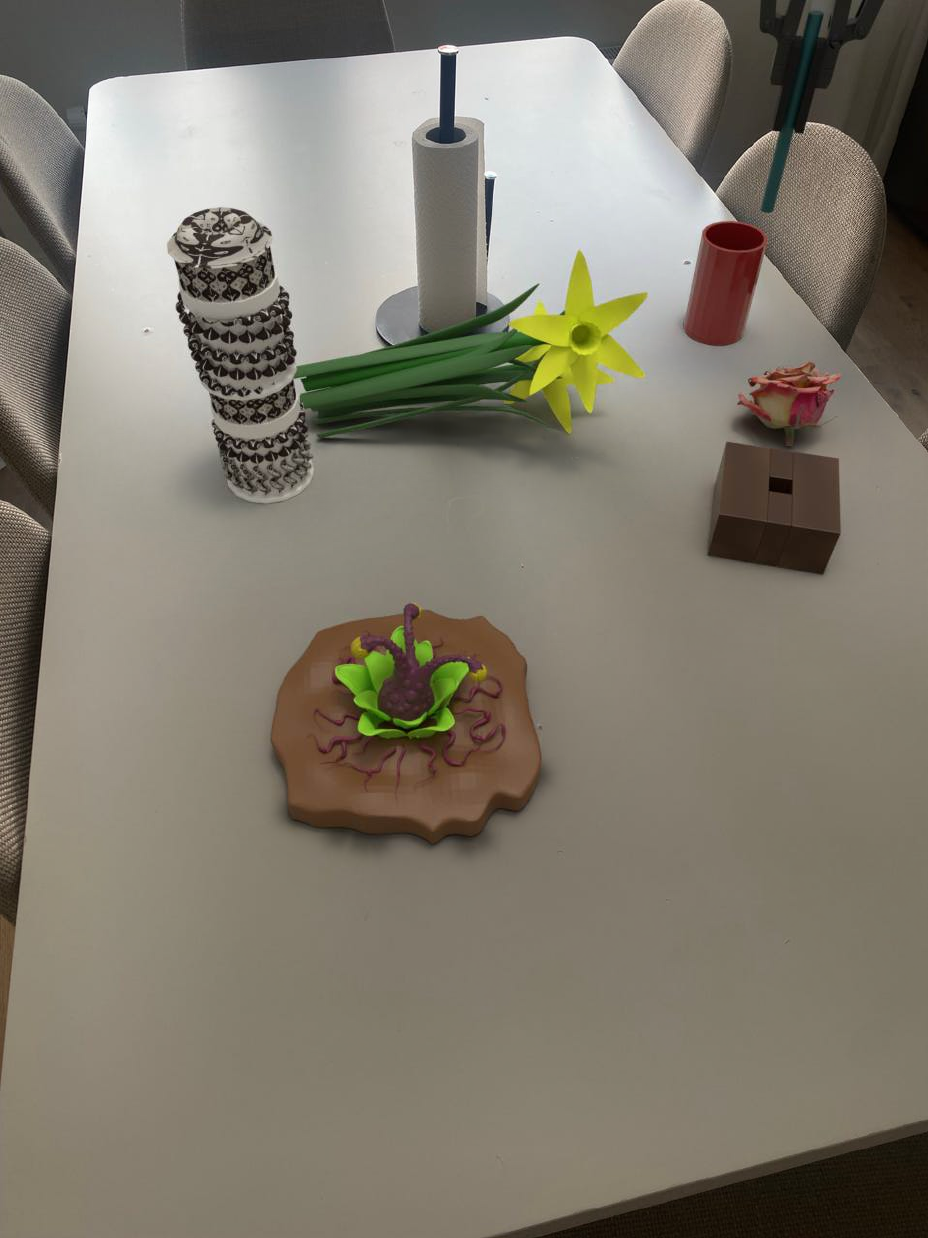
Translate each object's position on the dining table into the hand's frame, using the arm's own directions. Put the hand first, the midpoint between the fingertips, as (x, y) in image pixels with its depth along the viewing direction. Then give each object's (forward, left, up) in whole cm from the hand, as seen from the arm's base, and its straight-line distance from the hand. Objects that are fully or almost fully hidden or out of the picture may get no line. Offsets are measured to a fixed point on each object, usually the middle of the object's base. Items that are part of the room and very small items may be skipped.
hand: (788, 125), depth 79 cm
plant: (+21, +52, -26) cm, 62 cm away
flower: (-6, +8, -26) cm, 28 cm away
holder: (-5, +23, -26) cm, 35 cm away
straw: (0, 0, -7) cm, 7 cm away
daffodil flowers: (+26, +16, -26) cm, 40 cm away
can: (+2, -9, -26) cm, 27 cm away
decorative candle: (+42, +27, -26) cm, 56 cm away
